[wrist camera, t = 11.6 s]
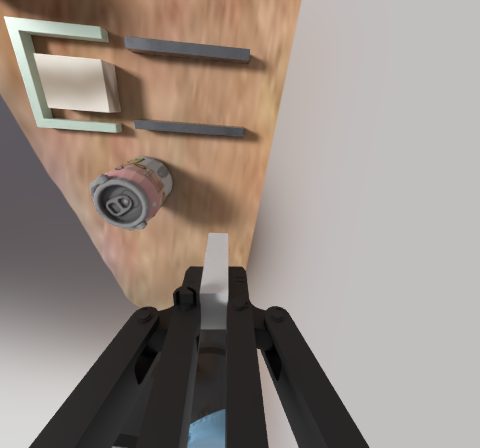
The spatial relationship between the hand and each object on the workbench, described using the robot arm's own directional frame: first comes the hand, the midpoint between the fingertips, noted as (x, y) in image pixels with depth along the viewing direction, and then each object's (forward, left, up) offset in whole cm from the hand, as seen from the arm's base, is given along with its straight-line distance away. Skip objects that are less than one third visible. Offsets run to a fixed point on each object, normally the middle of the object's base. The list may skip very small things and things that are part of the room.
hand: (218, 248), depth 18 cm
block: (+11, +20, -24) cm, 33 cm away
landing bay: (+12, +21, -24) cm, 34 cm away
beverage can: (-2, +13, -24) cm, 28 cm away
